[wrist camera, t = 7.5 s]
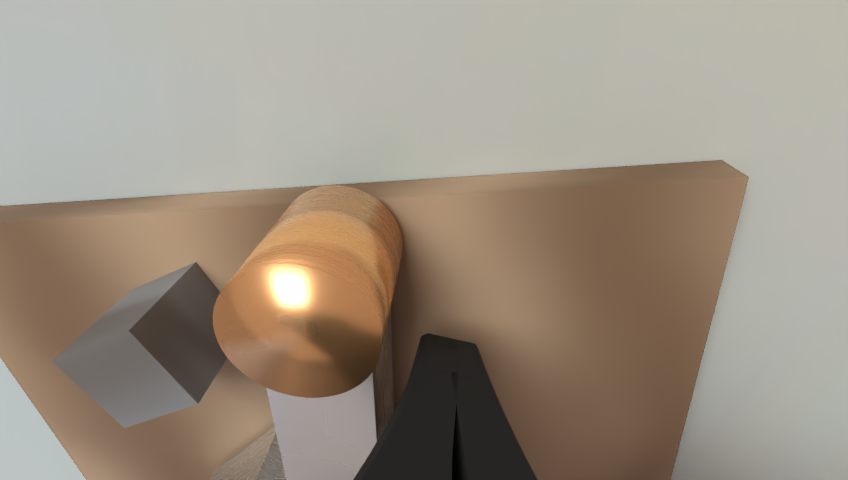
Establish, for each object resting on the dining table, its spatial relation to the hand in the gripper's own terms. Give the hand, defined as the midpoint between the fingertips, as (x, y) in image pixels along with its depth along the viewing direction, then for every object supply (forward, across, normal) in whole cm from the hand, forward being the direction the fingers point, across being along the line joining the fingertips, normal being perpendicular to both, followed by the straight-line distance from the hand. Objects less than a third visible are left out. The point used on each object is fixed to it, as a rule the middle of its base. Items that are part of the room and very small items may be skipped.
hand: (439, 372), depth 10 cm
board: (+2, 0, +8) cm, 8 cm away
